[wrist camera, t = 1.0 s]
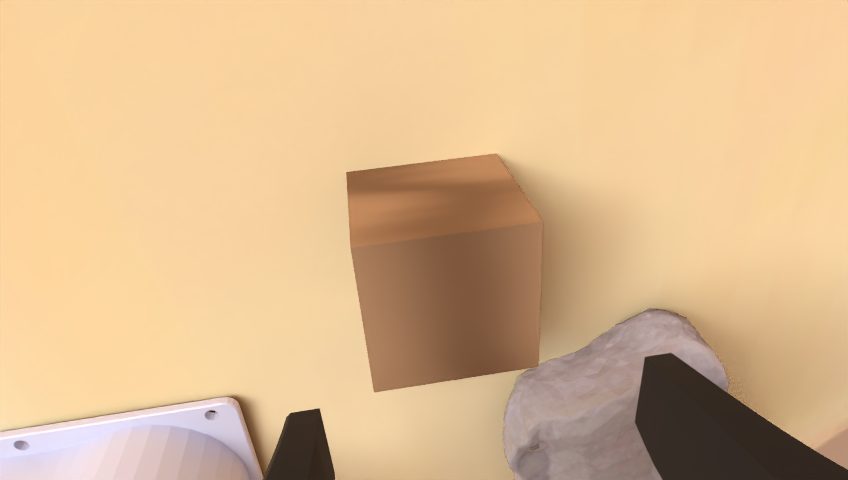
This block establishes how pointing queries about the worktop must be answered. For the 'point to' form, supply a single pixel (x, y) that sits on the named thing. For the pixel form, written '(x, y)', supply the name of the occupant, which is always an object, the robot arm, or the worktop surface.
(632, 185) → the worktop surface
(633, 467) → the stone block
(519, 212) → the walnut cube
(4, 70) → the worktop surface
